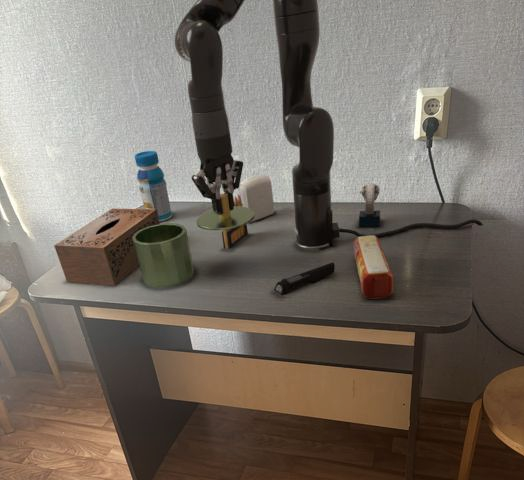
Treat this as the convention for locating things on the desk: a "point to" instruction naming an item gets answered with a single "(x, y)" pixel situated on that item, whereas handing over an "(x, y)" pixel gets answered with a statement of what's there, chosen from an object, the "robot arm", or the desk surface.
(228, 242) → the ammunition clip
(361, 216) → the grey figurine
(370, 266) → the snack package
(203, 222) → the lid
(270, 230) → the desk surface
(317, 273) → the electric trimmer
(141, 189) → the beverage bottle
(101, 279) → the tissue box cover
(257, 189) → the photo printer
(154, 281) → the canister
